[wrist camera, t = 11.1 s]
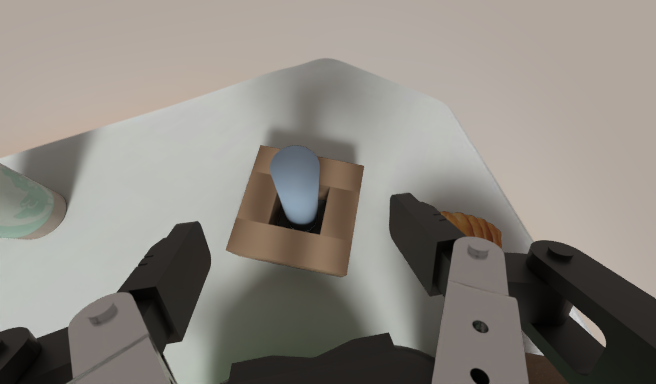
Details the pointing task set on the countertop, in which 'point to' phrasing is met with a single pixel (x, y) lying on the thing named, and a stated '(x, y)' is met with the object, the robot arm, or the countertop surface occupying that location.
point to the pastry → (474, 227)
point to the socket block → (292, 245)
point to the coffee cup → (27, 207)
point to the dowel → (297, 185)
